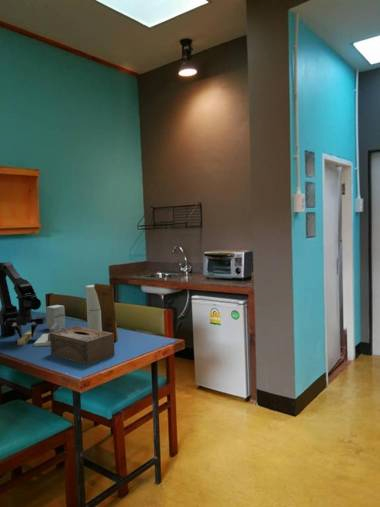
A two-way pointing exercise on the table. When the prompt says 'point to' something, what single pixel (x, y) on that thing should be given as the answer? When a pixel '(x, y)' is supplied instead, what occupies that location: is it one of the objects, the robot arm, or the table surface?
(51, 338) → the tissue box cover
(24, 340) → the oak bar
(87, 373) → the table surface
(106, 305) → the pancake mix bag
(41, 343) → the fulcrum stand
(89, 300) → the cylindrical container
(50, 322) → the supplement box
